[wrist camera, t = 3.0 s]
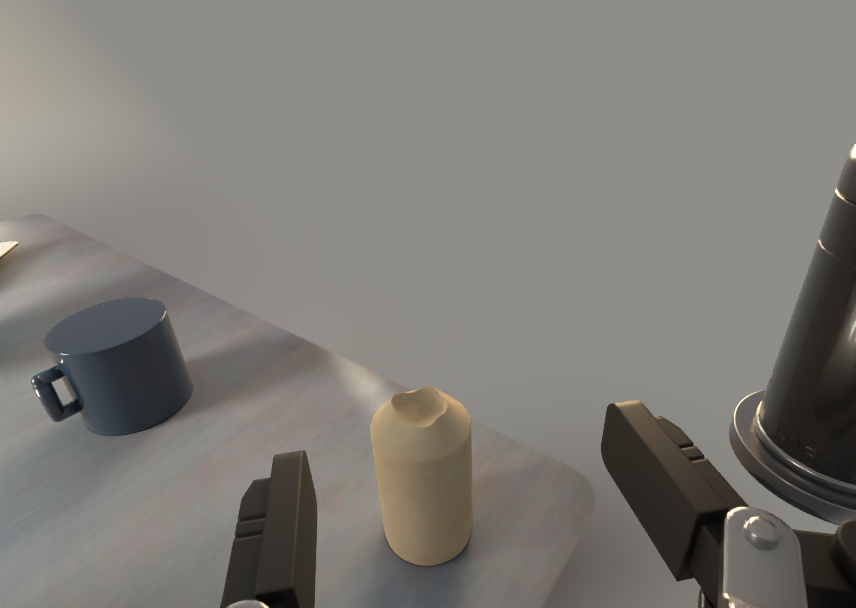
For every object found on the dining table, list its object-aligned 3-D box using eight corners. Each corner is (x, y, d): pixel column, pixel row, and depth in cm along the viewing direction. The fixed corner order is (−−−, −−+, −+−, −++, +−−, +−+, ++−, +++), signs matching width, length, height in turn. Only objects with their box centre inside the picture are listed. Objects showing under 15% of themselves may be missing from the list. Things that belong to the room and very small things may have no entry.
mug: (163, 360, 49) (136, 288, 46) (212, 392, 45) (186, 314, 41) (43, 422, 42) (-1, 342, 38) (86, 467, 38) (40, 382, 34)
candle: (368, 547, 31) (346, 423, 26) (408, 480, 35) (396, 363, 30) (452, 581, 28) (446, 452, 24) (484, 505, 33) (485, 383, 28)
